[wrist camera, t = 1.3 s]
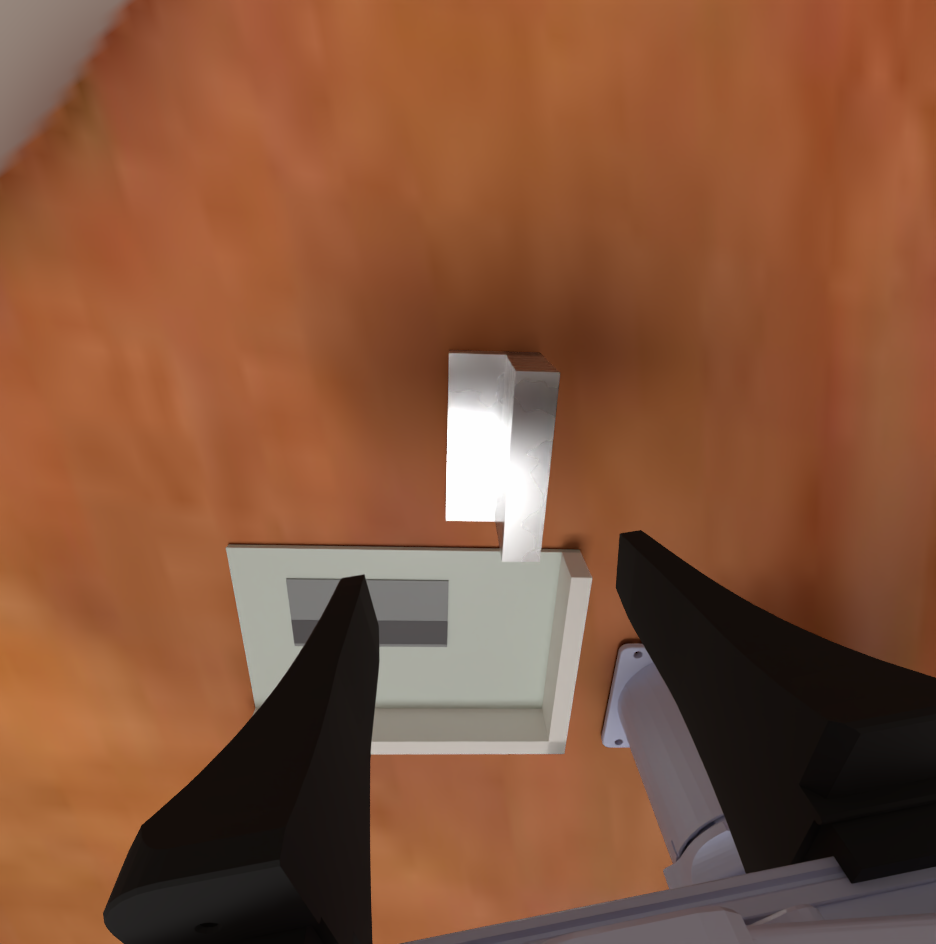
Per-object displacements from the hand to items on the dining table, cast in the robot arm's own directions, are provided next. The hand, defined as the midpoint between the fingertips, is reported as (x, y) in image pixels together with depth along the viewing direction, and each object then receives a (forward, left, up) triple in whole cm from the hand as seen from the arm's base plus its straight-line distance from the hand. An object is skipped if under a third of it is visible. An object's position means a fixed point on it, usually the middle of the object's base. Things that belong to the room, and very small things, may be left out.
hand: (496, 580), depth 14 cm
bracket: (0, -1, -10) cm, 10 cm away
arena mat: (+4, +11, -10) cm, 16 cm away
